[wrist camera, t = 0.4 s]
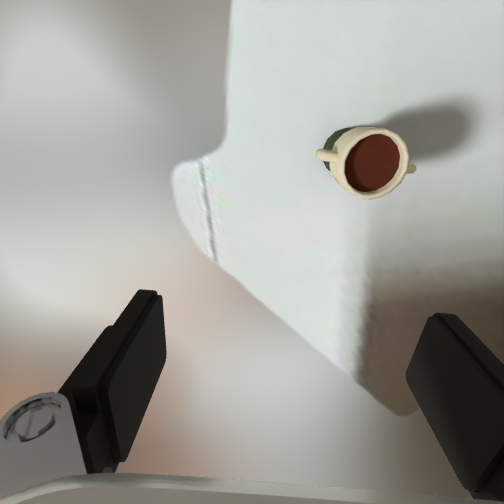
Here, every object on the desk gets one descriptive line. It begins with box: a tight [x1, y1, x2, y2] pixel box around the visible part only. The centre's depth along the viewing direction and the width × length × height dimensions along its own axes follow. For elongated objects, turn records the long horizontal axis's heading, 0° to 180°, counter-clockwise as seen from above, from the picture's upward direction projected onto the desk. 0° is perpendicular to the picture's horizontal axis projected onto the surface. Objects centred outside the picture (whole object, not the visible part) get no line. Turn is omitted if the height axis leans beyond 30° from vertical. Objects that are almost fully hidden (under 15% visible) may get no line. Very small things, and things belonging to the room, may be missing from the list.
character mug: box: [316, 127, 416, 199], centre depth 36 cm, size 11×7×13 cm, turn 82°
